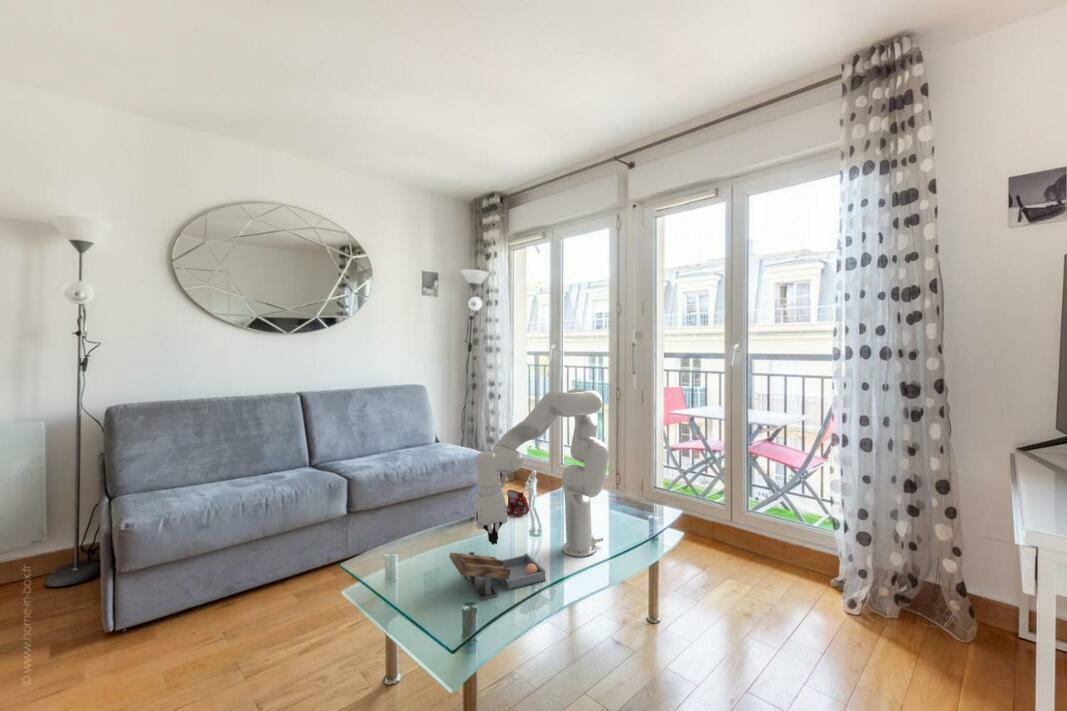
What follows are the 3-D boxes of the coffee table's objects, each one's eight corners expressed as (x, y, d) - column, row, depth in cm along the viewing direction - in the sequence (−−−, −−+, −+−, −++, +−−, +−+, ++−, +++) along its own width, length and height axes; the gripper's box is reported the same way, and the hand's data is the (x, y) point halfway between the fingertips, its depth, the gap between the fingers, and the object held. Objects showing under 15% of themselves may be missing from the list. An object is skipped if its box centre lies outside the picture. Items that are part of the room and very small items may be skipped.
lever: (493, 561, 162) (495, 550, 162) (509, 579, 148) (511, 568, 149) (448, 556, 155) (451, 545, 156) (461, 575, 142) (464, 563, 142)
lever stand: (478, 571, 161) (477, 550, 161) (496, 597, 144) (495, 572, 144) (464, 575, 159) (463, 553, 159) (481, 601, 142) (480, 576, 142)
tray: (527, 562, 167) (526, 553, 167) (545, 581, 153) (545, 570, 153) (492, 570, 162) (492, 560, 162) (508, 590, 148) (508, 579, 148)
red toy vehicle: (522, 518, 211) (521, 495, 211) (503, 513, 220) (502, 490, 220) (532, 514, 216) (532, 492, 216) (513, 509, 225) (513, 487, 225)
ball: (536, 565, 159) (527, 559, 158) (541, 570, 155) (532, 564, 154) (529, 575, 158) (521, 570, 156) (534, 581, 154) (525, 575, 153)
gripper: (506, 482, 165) (510, 533, 166) (465, 490, 159) (469, 544, 160) (514, 487, 158) (518, 541, 159) (471, 496, 152) (475, 552, 153)
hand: (493, 542), depth 159 cm, fingers closed
